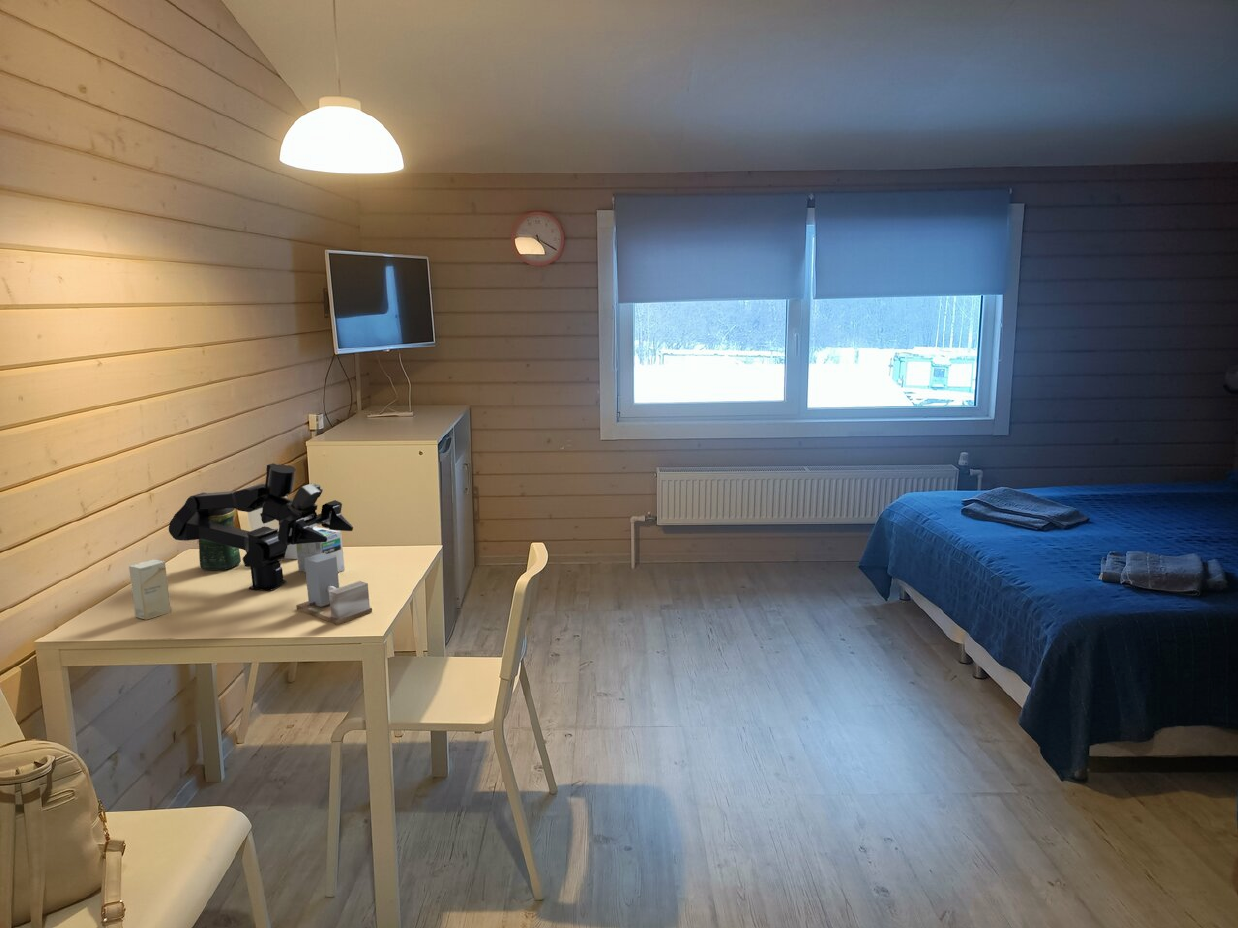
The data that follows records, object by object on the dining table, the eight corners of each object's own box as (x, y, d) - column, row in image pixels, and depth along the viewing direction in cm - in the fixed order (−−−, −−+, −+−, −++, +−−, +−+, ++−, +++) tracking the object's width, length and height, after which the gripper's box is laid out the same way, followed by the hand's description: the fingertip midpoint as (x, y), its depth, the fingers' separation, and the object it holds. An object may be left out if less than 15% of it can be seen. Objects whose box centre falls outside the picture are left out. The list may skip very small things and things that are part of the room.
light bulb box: (345, 570, 225) (342, 530, 223) (324, 577, 219) (320, 537, 217) (318, 563, 231) (315, 525, 228) (297, 571, 225) (293, 531, 223)
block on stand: (296, 609, 198) (293, 580, 197) (330, 597, 205) (328, 569, 204) (337, 624, 189) (334, 594, 187) (372, 612, 196) (369, 582, 194)
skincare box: (145, 620, 193) (138, 569, 191) (134, 617, 196) (127, 565, 193) (172, 611, 199) (165, 561, 196) (161, 608, 201) (154, 558, 198)
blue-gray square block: (303, 603, 197) (298, 560, 195) (327, 595, 202) (323, 552, 200) (319, 610, 193) (315, 565, 191) (344, 601, 198) (340, 557, 196)
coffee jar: (246, 561, 233) (238, 495, 230) (230, 571, 226) (222, 502, 222) (212, 561, 234) (203, 495, 231) (195, 571, 227) (186, 502, 223)
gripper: (262, 489, 196) (317, 513, 191) (318, 472, 213) (370, 493, 208) (256, 533, 199) (310, 557, 195) (312, 513, 216) (363, 535, 212)
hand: (339, 534), depth 202 cm, fingers open, 9 cm apart
